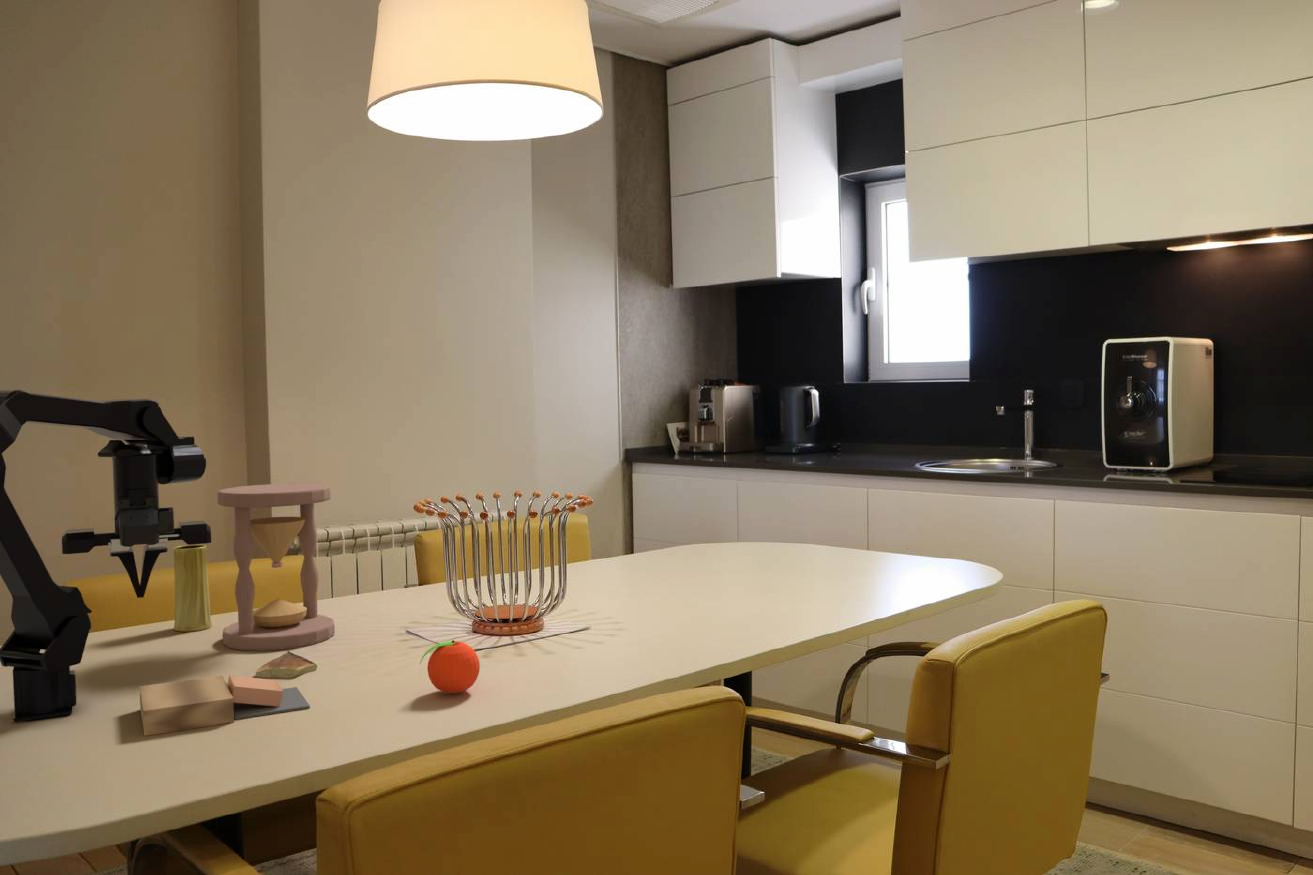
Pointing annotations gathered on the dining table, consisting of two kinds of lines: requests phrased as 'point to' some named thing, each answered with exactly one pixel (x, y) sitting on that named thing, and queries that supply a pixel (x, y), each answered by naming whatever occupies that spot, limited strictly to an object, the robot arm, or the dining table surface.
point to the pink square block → (255, 691)
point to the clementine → (453, 667)
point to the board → (185, 705)
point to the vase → (191, 588)
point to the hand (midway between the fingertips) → (140, 597)
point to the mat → (288, 703)
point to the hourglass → (275, 535)
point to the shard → (286, 666)
